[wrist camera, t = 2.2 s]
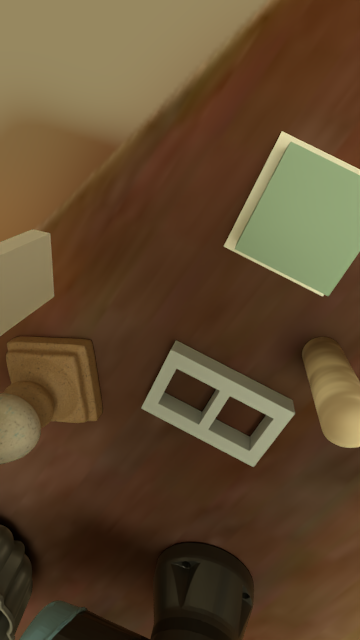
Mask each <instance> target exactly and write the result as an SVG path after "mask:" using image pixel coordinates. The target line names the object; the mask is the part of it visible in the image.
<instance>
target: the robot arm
mask: <svg viewBox="0 0 360 640" xmlns="http://www.w3.org/2000/svg"><path fill="white" fill-rule="evenodd" d="M53 297H54V285H53V269H52V253H51V237H50V233H46V232H42V231H38V230H33V229H32V230H30V231H27V232H25V233H22V234H19V235H17V236H14V237H12V238H9V239H7V240H4V241H2V242H0V336H1V335H2V334H4V333H5V332H6V331H8V330H9V329H11V328H12V327H13V326H15V325H16V324H17V323H19V322H20V321H21V320H23V319H24V318H26V317H27V316H28V315H30V314H31V313H32V312H34V311H35V310H36V309H38V308H39V307H41V306H42V305H43V304H45V303H46V302H47V301H49V300H50V299H52V298H53ZM153 596H154V626H153V631H152V635H151V639H148V638H146V637H143V636H141V635H139V634H137V633H135V632H133V631H130V630H128V629H126V628H124V627H122V626H119V625H117V624H115V623H113V622H111V621H109V620H106V619H104V618H102V617H100V616H98V615H96V614H94V613H92V612H90V611H88V610H87V608H85V607H81V608H80V607H77V606H74V605H71V604H69V603H66V602H64V601H54V602H51V603H50V604H48V605H47V606H45V607H44V608H43V609H42V610H41V611H40V612H39V614H38V615H37V616H36V617H35V618H34V620H33V621H32V622H31V624H30V625H29V626H28V628H27V629H26V631H25V632H24V634H23V635H22V637H21V638H20V640H242V639H243V636H244V633H245V630H246V627H247V624H248V620H249V617H250V614H251V611H252V608H253V597H254V585H253V580H252V577H251V575H250V573H249V571H248V570H247V568H246V567H245V566H244V565H243V564H242V563H241V562H240V561H239V560H238V559H236V558H235V557H234V556H232V555H231V554H229V553H227V552H225V551H223V550H221V549H219V548H216V547H213V546H210V545H206V544H201V543H182V544H177V545H174V546H171V547H169V548H168V549H166V550H165V551H164V552H163V553H162V554H161V555H160V556H159V558H158V561H157V565H156V568H155V572H154V578H153Z"/></svg>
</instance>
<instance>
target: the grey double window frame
mask: <svg viewBox="0 0 360 640" xmlns="http://www.w3.org/2000/svg"><path fill="white" fill-rule="evenodd" d="M176 369H179V370H181V371H183V372H184V373H186V374H188V375H190V376H192V377H194V378H196V379H198V380H200V381H202V382H204V383H206V384H208V385H210V386H212V387H213V388H215V389H216V390H215V392H214V394H213V395H212V397H211V398H210V400H209V402H208V403H207V405H206V407H205V408H204V410H203V411H202V412H201V411H199V410H197V409H195V408H194V407H192V406H190V405H188V404H186V403H184V402H182V401H180V400H178V399H176V398H174V397H172V396H171V395H169V394H167V393H165V392H164V391H165V389H166V387H167V386H168V384H169V382H170V380H171V378H172V376H173V374H174V372H175V370H176ZM230 396H231V397H233V398H235V399H237V400H239V401H240V402H242V403H244V404H246V405H248V406H250V407H252V408H254V409H256V410H258V411H260V412H262V413H264V414H266V416H265V417H264V418H263V420H262V421H261V422H260V424H259V425H258V427H257V428H256V429H255V431H254V432H253V433H252V435H251V436H250V437H249V436H247V435H245V434H244V433H242V432H240V431H238V430H236V429H234V428H232V427H230V426H228V425H226V424H224V423H222V422H220V421H219V420H217V419H215V418H216V417H217V415H218V414H219V412H220V411H221V409H222V407H223V406H224V404H225V403H226V401H227V400H228V398H229V397H230ZM141 409H143V410H145V411H147V412H149V413H151V414H153V415H155V416H157V417H159V418H160V419H162V420H164V421H166V422H168V423H170V424H172V425H174V426H176V427H178V428H180V429H181V430H183V431H185V432H187V433H189V434H191V435H193V436H195V437H197V438H199V439H201V440H202V441H204V442H206V443H208V444H210V445H212V446H214V447H216V448H218V449H220V450H222V451H224V452H225V453H227V454H229V455H231V456H233V457H235V458H237V459H239V460H241V461H243V462H245V463H246V464H248V465H250V466H252V467H254V466H255V465H256V463H257V462H258V461H259V459H260V458H261V457H262V456H263V454H264V453H265V452H266V450H267V449H268V448H269V447H270V445H271V444H272V443H273V441H274V440H275V439H276V437H277V436H278V435H279V434H280V432H281V431H282V430H283V428H284V427H285V426H286V425H287V423H288V422H289V421H290V419H291V418H292V417H293V416H294V414H295V410H294V405H293V400H291V399H289V398H287V397H285V396H283V395H281V394H280V393H278V392H276V391H274V390H272V389H270V388H268V387H266V386H264V385H262V384H260V383H258V382H256V381H254V380H252V379H250V378H248V377H247V376H245V375H243V374H241V373H239V372H237V371H235V370H233V369H231V368H229V367H227V366H225V365H223V364H221V363H219V362H217V361H216V360H214V359H212V358H210V357H208V356H206V355H204V354H202V353H200V352H198V351H196V350H194V349H192V348H190V347H188V346H186V345H184V344H183V343H181V342H179V341H177V340H176V341H175V343H174V345H173V347H172V349H171V350H170V352H169V354H168V356H167V358H166V360H165V362H164V364H163V366H162V368H161V370H160V372H159V374H158V376H157V378H156V380H155V382H154V384H153V386H152V388H151V390H150V392H149V394H148V396H147V398H146V400H145V402H144V404H143V406H142V408H141Z"/></svg>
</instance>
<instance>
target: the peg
mask: <svg viewBox="0 0 360 640" xmlns="http://www.w3.org/2000/svg"><path fill="white" fill-rule="evenodd" d="M302 359H303V362H304V366H305V369H306V373H307V377H308V380H309V384H310V388H311V391H312V395H313V399H314V402H315V406H316V410H317V413H318V417H319V421H320V424H321V428H322V431H323V434H324V435H325V437H326V438H327V439H328V440H329V441H330V442H332V443H334V444H336V445H338V446H341V447H347V448H355V447H360V382H359V380H358V378H357V376H356V374H355V373H354V371H353V369H352V367H351V365H350V363H349V361H348V360H347V358H346V356H345V354H344V352H343V350H342V348H341V347H340V345H339V344H338V342H336V341H335V340H334V339H331V338H328V337H317V338H314V339H312V340H310V341H309V342H307V343H306V345H305V346H304V348H303V350H302Z"/></svg>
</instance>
